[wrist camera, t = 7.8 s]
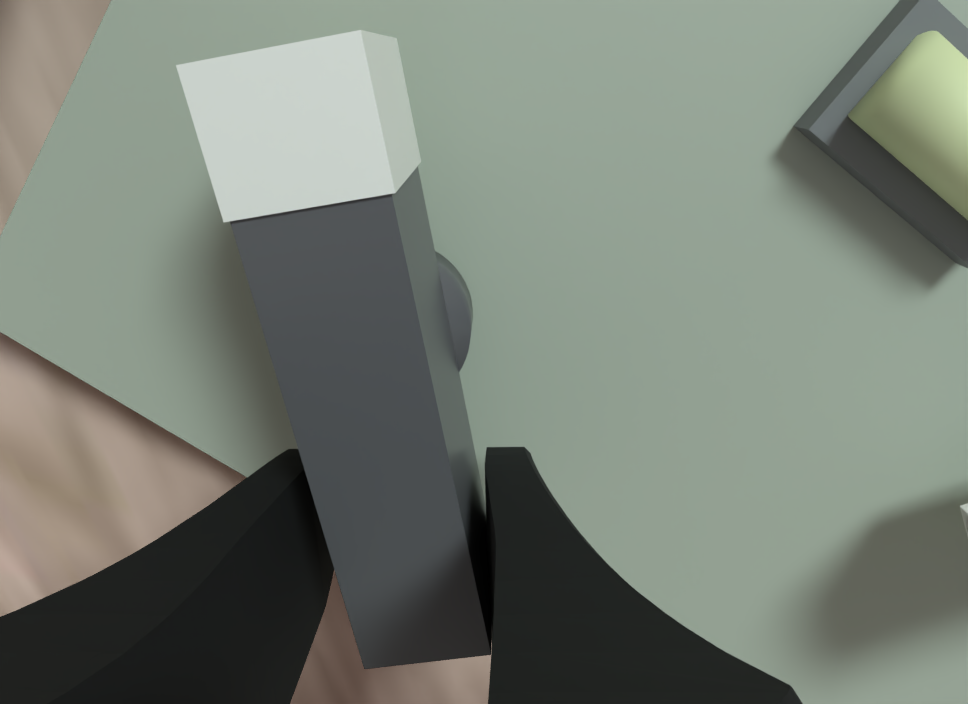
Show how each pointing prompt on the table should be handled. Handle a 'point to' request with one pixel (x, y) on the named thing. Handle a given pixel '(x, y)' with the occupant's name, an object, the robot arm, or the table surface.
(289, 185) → the knob
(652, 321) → the base plate
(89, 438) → the table surface
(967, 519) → the knob
